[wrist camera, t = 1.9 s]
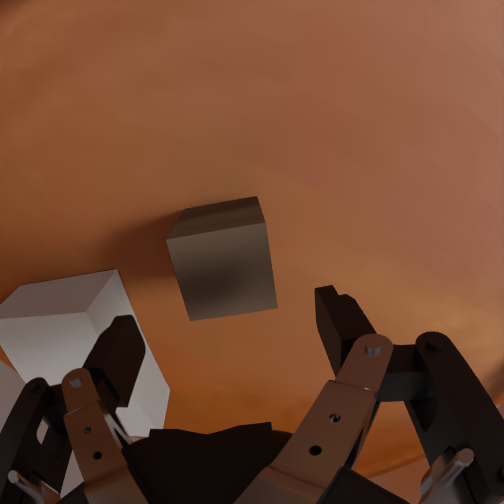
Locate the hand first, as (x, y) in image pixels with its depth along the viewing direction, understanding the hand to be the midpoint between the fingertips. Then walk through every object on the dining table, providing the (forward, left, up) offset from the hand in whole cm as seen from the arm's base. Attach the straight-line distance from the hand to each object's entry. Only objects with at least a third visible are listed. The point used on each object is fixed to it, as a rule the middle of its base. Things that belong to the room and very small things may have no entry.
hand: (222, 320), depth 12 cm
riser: (+8, -15, -9) cm, 19 cm away
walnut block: (0, 0, -9) cm, 9 cm away
